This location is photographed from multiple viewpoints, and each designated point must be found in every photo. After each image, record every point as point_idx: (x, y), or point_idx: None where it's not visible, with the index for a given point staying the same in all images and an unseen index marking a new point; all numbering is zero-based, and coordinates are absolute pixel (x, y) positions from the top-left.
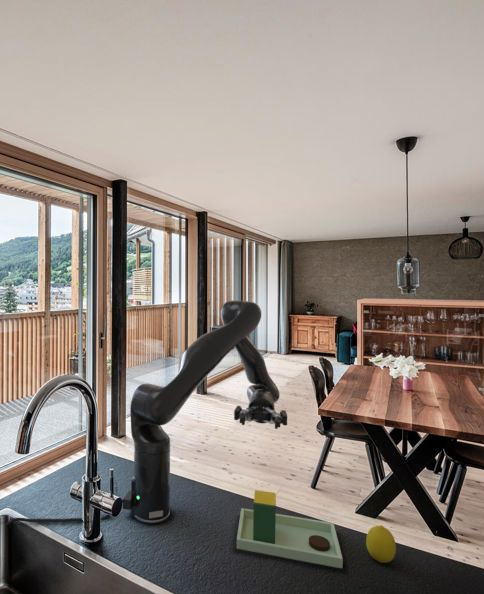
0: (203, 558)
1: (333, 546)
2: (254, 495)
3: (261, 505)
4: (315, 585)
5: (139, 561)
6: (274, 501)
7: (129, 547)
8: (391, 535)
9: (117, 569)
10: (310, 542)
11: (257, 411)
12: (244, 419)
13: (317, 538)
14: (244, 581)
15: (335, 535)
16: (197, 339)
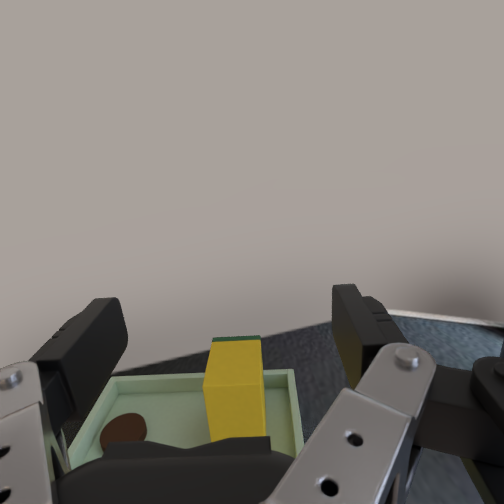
0: (340, 358)
1: (92, 443)
2: (260, 362)
3: (243, 337)
4: (174, 359)
5: (422, 330)
6: (212, 352)
7: (463, 345)
8: None
9: (435, 315)
10: (145, 422)
11: (227, 484)
12: (333, 297)
13: (122, 437)
14: (271, 340)
15: (77, 438)
16: None
